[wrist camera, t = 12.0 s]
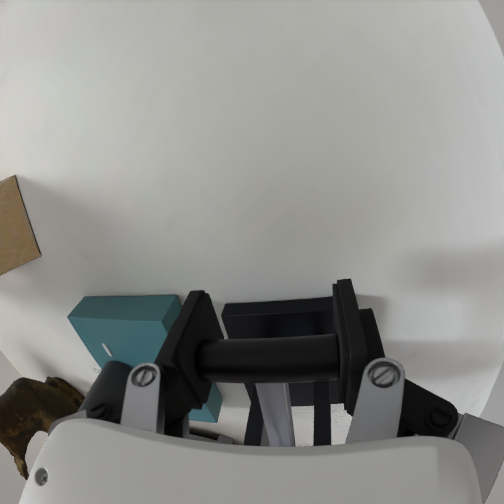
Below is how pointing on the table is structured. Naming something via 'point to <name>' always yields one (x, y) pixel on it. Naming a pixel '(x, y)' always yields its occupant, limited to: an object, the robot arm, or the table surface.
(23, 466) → the pottery vessel
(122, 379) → the knob
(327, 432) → the black lever stand
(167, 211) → the table surface
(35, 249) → the sandwich container
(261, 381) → the press lever
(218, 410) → the teal dial base
